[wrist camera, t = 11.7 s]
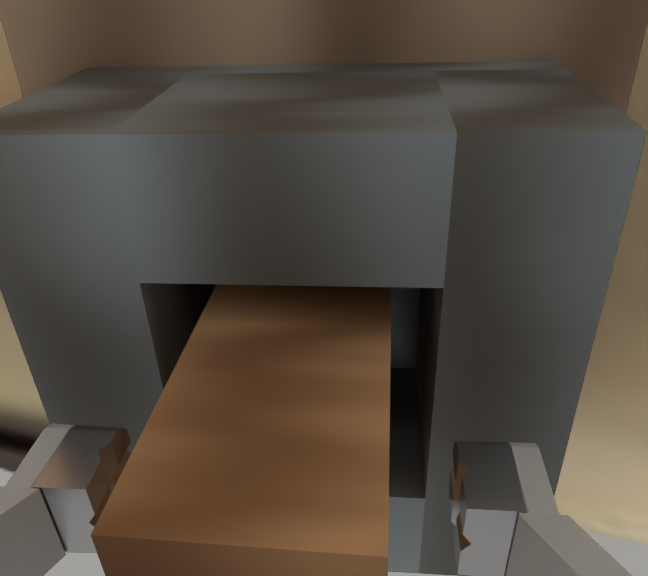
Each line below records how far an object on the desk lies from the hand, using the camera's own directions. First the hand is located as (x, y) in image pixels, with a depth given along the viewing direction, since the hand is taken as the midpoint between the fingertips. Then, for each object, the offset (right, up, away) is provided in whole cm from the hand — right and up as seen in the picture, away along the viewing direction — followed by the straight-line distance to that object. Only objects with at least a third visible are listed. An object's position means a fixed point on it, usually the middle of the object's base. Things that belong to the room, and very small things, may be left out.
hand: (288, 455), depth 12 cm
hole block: (+1, +4, +7) cm, 9 cm away
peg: (+1, +3, +6) cm, 7 cm away
